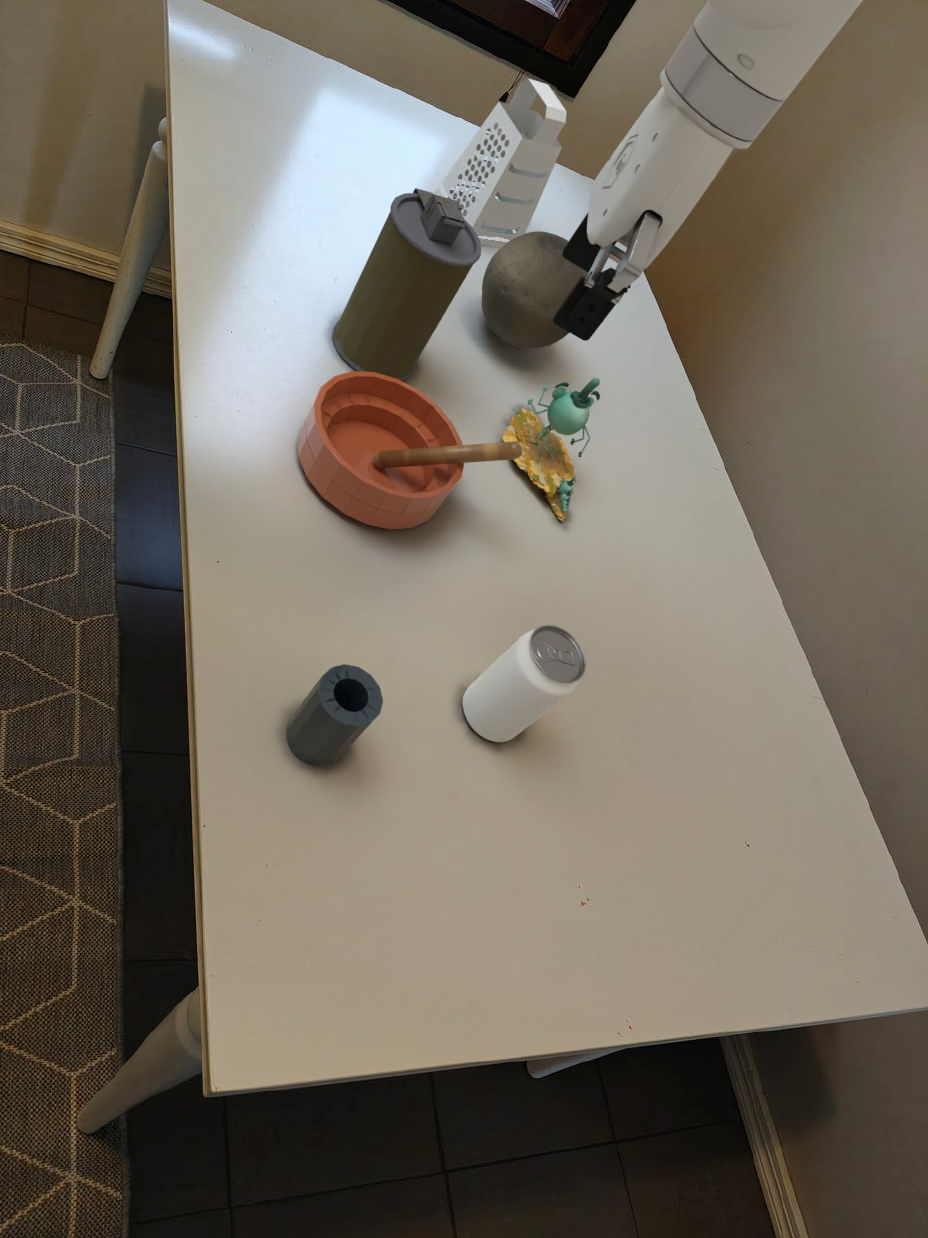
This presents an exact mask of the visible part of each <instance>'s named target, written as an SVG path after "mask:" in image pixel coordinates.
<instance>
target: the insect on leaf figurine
mask: <svg viewBox="0 0 928 1238" xmlns="http://www.w3.org/2000/svg"><path fill="white" fill-rule="evenodd" d="M600 383H601V381H600V379H599V378H598V377H593V378H592V379H591V380H590V381H589V382H588V383H586V385H585V386H584V387H583V388H582V389H581V390H580V391H577V390H574V391H572V390H569V391H567V388H569V386H570V383H568V382H567V381H563V382H560V383H557V384H555V386H554V389H553V391H552V392H551V395H552V400H551V401H550V404H549V405H547V404H544V403H543V404H542V403H541V402H542V399H543V397H544V394H545V392H547V391H548V389H549V387H547V386H543V388H542V389H541V392H542V393H541V395H540V397H539V400H538V402H537V405H538V406H541V407H544V408H545V409H543V410H539V411H537V410H536V409H535V407H534V405H533V402H534V398H529V399H528V400H527V405H528V406H529V405H530V406H531V408H532V410H531V411H529V410H527V409H525V408H524V407H523V408H521V409H519V410H518V414H517V415H513V416H512V417H511V419H510V421H509V422H508V426H507V428H506V430H505V429H504V431H503V435H502V436H501V439H502V442H517V443H519V444H520V445H521V447H522V454H521V456H520V457H519V458H517V459H514V460H513V461H514V463H515V464H516V465H517V467H518V468H519V469H520V470H523V472H524V473H525V474H527V475H528V478H529V479H530V480H531V481H532V483H533V484H534V485H536V486H537V487H538V489H540V490H543V491H544V492H545V494H544V497H543V498H546V500H548V503H549V504H550V508H551V510H552V511H553V513H554V515H556V517H557V519H558V520H559V521H560V522H564V520H565V519H566V517H567V515H568V513H567V512H568V509H569V508H570V503H571V499H572V498H571V496H572V494H573V495H574V492H573V489H574V488H575V483H577V480H576V479H577V477H576V476H575V472H574V470H575V466H574V464H573V462H572V457H571V452H570V450H569V448H567V447H566V446H565V441H564V440H562V438H561V437H560V436H558V435H556V434H555V432H556V433H557V434H560V435H562V436H563V435H564V436H571V435H574V434H577V433H578V432H580V431H581V430H582V438H579V439H575V438H571V440H570V446H573V445H574V444H576V443H578V442H581V441H583V440H585V433H586V435H587V437H588V439H587V441H586V443H585V444H584V446H583V448H582V449H581V451H579V452H578V455H577V457H578V458H582V456H583V453H584V451H585V449H586V447H587V445H588V444H589V442H590V440H591V436H590V433H589V431H588V428H587V426H586V424H587V423H588V420H589V418H590V408H591V407H592V405H593V404H594V403H595V399H594V397H592V396H595V398H596V401H597V402H598V401H600V399H601V395H600V392H599V391H597V390H595V389H597V388H598V386H599V385H600ZM589 395H591V396H589ZM544 412H547V421H548V425H547V426H546V425H545V424H546V423H545V422H542V421H541V420H540V419H539V416H538V415H540V414H542V413H544ZM558 492H560V495H559V494H558Z"/></svg>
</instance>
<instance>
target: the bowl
mask: <svg viewBox="0 0 928 1238" xmlns="http://www.w3.org/2000/svg"><path fill="white" fill-rule="evenodd" d="M458 445H463V442H462V439H461V437H460V435H459V433H458V430H457V429H456V427H455V425H454V423H453V422H452V420H451V419H450V417H448V416H447V414H446V413H445V412H444V411H443V409H442V408H440V406H439V405H438V404H437V403H436V402H434V401H433V400H432V399H431V398H429V397H428V396H427V395H425V393H423V392H422V391H421V390H419V389H418V388H416V387H414V386H412V385H410V384H408V383H406V382H404V381H400V380H398V379H396V378H393V377H390V376H386V375H383V374H379V373H376V372H364V371H356V370H351V371H348V372H344V373H340V374H336V375H333V376H332V378H330V379H328V380H327V381H326V382H325V383H324V384H323V385H322V386H321V387H319V390H318V391H317V394H316V395H315V397H314V400H313V402H312V404H311V406H310V408H309V410H308V412H307V414H306V416H305V419H304V421H303V422H302V425H301V427H300V430H299V433H298V435H297V456H298V457H297V458H298V459H299V462H300V465H301V467H302V470H303V471H304V474H305V476H306V479H307V480H308V481H309V482H310V484H311V485H312V486H313V487H314V489H315V490H316V491H317V492H318V494H319V495H320V496H321V497H322V498H323V499H324V500H325V501H327V502H328V503H329V504H331V505H332V506H333V507H334V508H335V509H337V510H338V511H339V512H341V513H342V514H343V515H345V516H348V517H349V518H352V519H354V520H356V521H358V522H361V523H363V524H365V525H368V526H372V527H378V528H383V529H386V530H403V529H412V528H415V527H417V526H420V525H421V524H423V523H425V522H428V521H430V520H431V519H432V517H433V516H434V515H435V513H437V511H438V509H440V507H441V506H442V504H443V503H444V501H446V499H447V498H448V496H449V495H450V494H451V492H452V491H453V489H454V488H455V487H456V485H457V484H458V482H459V481H460V480H461V479H462V477H463V473H464V472H463V471H464V467H465V463H455V464H440V465H425V466H410V467H395V468H378V467H376V466H375V465H374V463H373V456H374V455H375V453H377V452H379V451H388V450H402V449H416V448H430V447H444V446H458Z"/></svg>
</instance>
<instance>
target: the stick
mask: <svg viewBox="0 0 928 1238" xmlns="http://www.w3.org/2000/svg"><path fill="white" fill-rule="evenodd" d="M521 454H522V447H521V445H520V444H519V443H517V442H504V441H502V442H501V441H500V442H487V443H475V444H474V443H473V444H462V445H458V446H444V447H430V448H416V449H402V450H388V451H379V452H377V453H375V455H374V456H373V463H374V465H375V466H376V467H378V468H395V467H410V466H425V465H440V464H455V463H464V464H467V463H468V464H469V463H482V462H498V461H512V460H513V461H514V459H517V458H519V457H520V456H521Z"/></svg>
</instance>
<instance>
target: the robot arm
mask: <svg viewBox="0 0 928 1238" xmlns="http://www.w3.org/2000/svg"><path fill="white" fill-rule="evenodd" d="M706 1H707V2H706V3H705V4H704V6H703V8H702V9H701V11H700V12H699V13H698V15H697V17H696V18H695V19H694V21H693V23H692V25H691V26H690V27H689V29H688V31H687V32H686V34H685V35H684V37H683V38H682V40H681V41H680V43H679V44H678V46H677V47H676V48H675V50H674V52H673V54H672V56H670V58H669V60H668V62H667V63H666V65H665V66H664V68H663V69H662V71H661V72H660V74H659V81H660V84H661V87H660V89H659V90H658V91H657V93H655V95H654V96H653V98H652V99H651V100H650V101H649V103H648V104H647V106H646V107H645V108H644V109H643V111H642V112H641V113H640V115H639V116H638V118H637V119H636V120H635V122H634V123H633V125H632V126H631V127H630V129H629V130H628V132H627V133H626V135H625V136H624V138H622V140H621V142H620V143H619V144H618V146H617V147H616V149H615V150H614V152H613V153H612V154H611V155H610V157H609V158H608V160H607V161H606V162H605V164H604V165H603V167H602V168H601V170H600V171H599V173H598V174H597V175H596V177H595V178H594V181H593V184H592V186H591V189H590V196H589V203H588V211H587V213H586V214H585V216H584V217H583V219H582V220H581V222H580V224H579V225H578V226H577V228H576V230H575V231H574V232H573V233H572V235H571V237H570V238H569V240H568V241H569V242H568V243H567V245H566V246H565V248H564V249H563V254H562V255H563V257H564V258H565V259H567V260H568V261H570V262H572V263H573V264H575V265H577V266H578V267H580V268H582V269H583V270H585V271H587V272H588V275H587V277H586V278H584V277H582V276H581V277H580V279H579V280H578V282H577V283H576V285H575V286H574V287H573V289H572V290H571V292H570V293H569V295H568V296H567V297H566V299H565V300H564V302H563V303H562V304H561V306H560V307H559V309H558V310H557V312H556V313H555V314H554V319H553V322H554V324H556V325H557V326H559V327H561V328H563V329H564V330H566V331H568V332H570V333H569V334H571V335H573V336H575V337H576V338H578V339H580V340H582V341H584V342H586V341H587V342H588V341H589V340H590V339H591V338H592V337H593V335H594V334H595V333H596V331H597V330H598V328H599V327H600V326H601V325H602V324H603V323H604V321H605V319H606V318H607V317H608V315H610V313H611V312H612V311H613V309H614V308H615V307H616V305H618V304H619V303H620V301H621V300H622V299H623V297H624V295H625V294H627V293H628V292H629V290H630V289H631V286H632V284H633V283H634V282H636V280H638V278H640V277H641V275H642V273H643V272H644V270H646V269H647V268H648V267H649V266H651V264H652V263H653V262H654V261H655V260H656V258H657V257H658V256H659V254H661V252H662V251H663V250H664V249H665V248H666V246H667V245H668V244H669V242H670V241H671V240H672V238H673V237H674V235H675V234H676V233H677V232H678V230H679V229H680V228H681V226H682V225H683V223H684V222H685V221H686V219H687V218H688V216H689V215H690V214H691V212H692V211H693V210H694V208H695V207H696V205H698V202H699V201H700V200H701V198H702V196H703V195H704V194H705V192H706V191H707V189H708V188H709V186H710V185H711V183H712V182H713V181H714V180H715V179H716V177H717V175H718V173H719V172H720V170H721V169H722V167H723V165H724V164H725V163H726V161H727V159H728V158H729V156H730V155H731V153H732V152H733V150H734V149H737V150H738V149H739V150H747V149H749V148H750V147H751V146H752V144H753V143H754V142H755V140H756V139H757V138H758V136H759V135H760V134H761V132H763V130H764V129H765V128H766V126H767V125H768V124H769V123H770V121H771V120H772V118H773V117H774V116H775V115H776V113H777V112H778V111H779V109H780V108H781V107H782V105H784V103H785V102H786V100H787V99H788V98H789V96H790V95H791V94H792V93H793V91H794V90H795V89H796V87H797V86H798V85H799V84H800V82H801V81H802V80H803V78H805V76H806V74H807V73H808V72H809V71H810V69H811V68H812V66H813V65H814V64H815V63H816V62H817V60H818V59H819V57H820V56H821V55H822V54H823V52H824V51H825V50H826V48H828V46H829V45H830V43H832V41H833V39H834V38H835V37H836V36H837V34H838V33H839V32H840V30H841V29H842V28H843V27H844V26H845V24H846V23H847V22H848V20H849V19H850V18H851V16H852V15H853V14H854V13H855V11H856V10H857V9H858V7H859V6H860V5H861V4H862V3H863V1H864V0H706ZM617 243H619V244H620V245H622V246H624V247H625V248H626V250H625V251H624V250H623V249H621V248H619V247H618V246H616V244H617ZM609 259H610V260H612V261H613V262H615V263H617V265H616V267H615V269H614V268H613V267H608V268H607V269H604V268H605V266H606V264H607V262H608V260H609Z"/></svg>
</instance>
